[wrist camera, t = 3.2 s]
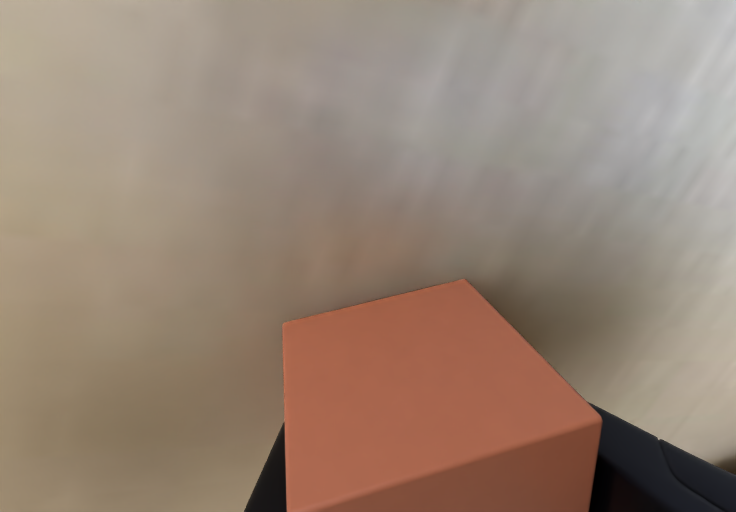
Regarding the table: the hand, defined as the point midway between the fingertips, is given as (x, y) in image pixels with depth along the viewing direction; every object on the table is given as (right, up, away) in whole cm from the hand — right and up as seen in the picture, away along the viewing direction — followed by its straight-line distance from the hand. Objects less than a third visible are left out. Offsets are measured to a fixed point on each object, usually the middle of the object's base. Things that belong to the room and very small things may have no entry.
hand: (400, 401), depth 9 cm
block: (0, 0, +1) cm, 1 cm away
